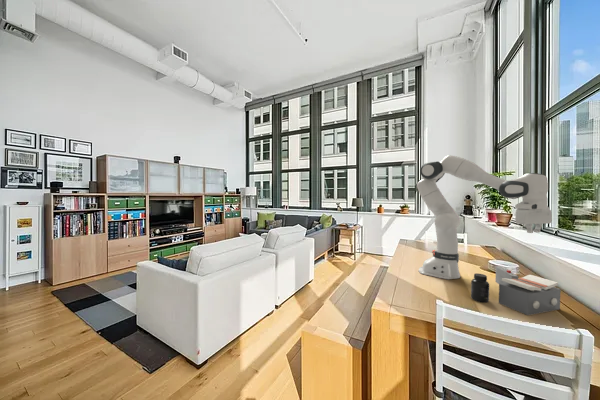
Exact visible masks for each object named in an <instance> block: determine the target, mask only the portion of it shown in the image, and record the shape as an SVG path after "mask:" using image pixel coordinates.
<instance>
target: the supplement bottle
mask: <svg viewBox="0 0 600 400" xmlns="http://www.w3.org/2000/svg"><path fill="white" fill-rule="evenodd" d="M470 281H471V282H470V299H472V300H473V301H475V302H477V303H483V304H485V303H489V300H490V283H489V281H488V276H487V275H486V274H482V273H474V274H473V278H472V280H470Z"/></svg>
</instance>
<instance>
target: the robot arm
mask: <svg viewBox="0 0 600 400" xmlns="http://www.w3.org/2000/svg"><path fill="white" fill-rule="evenodd" d="M419 173H420V175H421V177H422V179H420V180H419V181H418V182H417V183H416V188H417V190H418V193H419V195H420V197H421V198H422V200H423V202H424V203H425V205H426V206H427V208H428V210H430V211H431V212H432V214H433V215H434V216H435V217H434V218H435V219H434V226H435V227H434V228H435V234H436V250H435V249H432V251H431V252H432V256H431V257H429V258H427V259H426V260H424V261H423V264H422V266H420V267H419V268H418V272H419V274H421V275H426V276H431V277H435V278H440V279H444V280H452V279H455V280H457V279H460V278H461V273H460V269H459V262H460V261H459V260H460V255H459V240H458V233H457V228H458V227H459V226H460V225H461V217H460V216H459V214H458V213H457V212H456V211H455V210H454V208H453V207H452V205H451V204H450V203H449V202H448V201H447V199H446V198H445V196H444V194H443V193H442V192H441V190H440V189H439V187H438V185H437V182H439V181H440V180H441V179H442V178H443V177H444V176H445V174H449V175H451V176H453V177H456V178H457V179H462V180H465V181H469V182H476V183H480V184H483V185H486V186H488V187H489V188H493V189H496V190H497V191H498V192H499V194H500V195H501V196H502V197H504V198H506V199H512V200H515V199H519V198H522V201H520V202H519V203H516V204H515V207H514V208H515V209H516V210H515V214H514V216H515V222H516V224H517V225H524V226H525V228H526V233H528V234H533V233H537V234H539V233H541V230H542V227H543V224H551V223H552V221H553V219H552V218H553V217H552V210H551V209H550V207H549V206H548V204H549V203H548V195H547V194H548V191H549V180H548V176H546V175H544V174H543V173H536V172H527V173H525V174H523V175H521V176H519V177H515V178H513V179H510V180H509V179H503V178H501V177H498V176H496V175H494V174H491V173H489V172H487V171H485V170H484V168H482V167H480V166H479V165H478V164H476V162H475V163H474V162H472V161H471V160H469V159H466V158H463V157H460V156H456V155H451V154H449V155H446V156H444V157H443V158H442V159H441V161H428V162H426V163H423V165H421V166H420V169H419ZM533 225H535V227H534V228H532V227H533Z"/></svg>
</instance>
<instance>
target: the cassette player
mask: <svg viewBox="0 0 600 400" xmlns="http://www.w3.org/2000/svg"><path fill="white" fill-rule="evenodd" d="M502 278H507V279H517V280H518V278H519V275H517V274H515V273H513V272H512V270H510V269H508V268H507V267H504V266H503V265H498V266H495V283H496V284H498V285H499V284H502V283H508V282H505V281H502Z"/></svg>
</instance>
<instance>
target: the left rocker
mask: <svg viewBox="0 0 600 400" xmlns="http://www.w3.org/2000/svg"><path fill="white" fill-rule="evenodd" d="M502 281H505V282H508V283H509V284H512V285H515V286H518V287H521V288H524V289H527V290H530V291H534V290H539V291H541V288H542V287H539V286H536V285H533V284H529V283H526V282H523V281H520V280H517V279H507V278H502Z"/></svg>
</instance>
